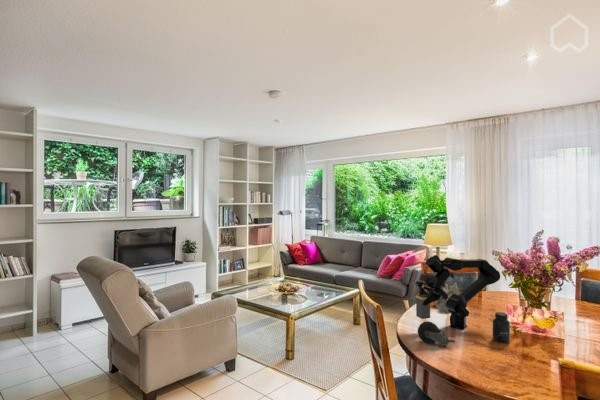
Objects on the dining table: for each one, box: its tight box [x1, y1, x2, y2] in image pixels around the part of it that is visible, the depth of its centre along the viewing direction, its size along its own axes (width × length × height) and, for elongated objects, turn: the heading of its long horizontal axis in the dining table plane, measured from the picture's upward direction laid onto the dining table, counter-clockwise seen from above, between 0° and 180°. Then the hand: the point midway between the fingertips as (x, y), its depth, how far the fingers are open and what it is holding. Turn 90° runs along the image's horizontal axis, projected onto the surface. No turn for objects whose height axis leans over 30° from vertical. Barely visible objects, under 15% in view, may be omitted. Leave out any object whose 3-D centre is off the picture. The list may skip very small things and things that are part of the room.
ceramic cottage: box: [435, 282, 461, 313], centre depth 206 cm, size 16×16×15 cm
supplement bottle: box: [492, 311, 511, 344], centre depth 158 cm, size 7×7×12 cm
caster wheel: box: [417, 320, 456, 348], centre depth 155 cm, size 6×10×15 cm
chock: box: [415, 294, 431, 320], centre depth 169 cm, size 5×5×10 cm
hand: (420, 303), depth 169 cm, fingers closed on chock, 4 cm apart
